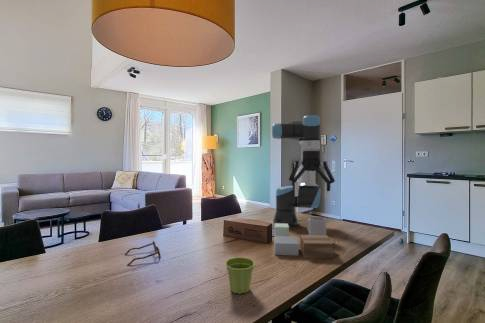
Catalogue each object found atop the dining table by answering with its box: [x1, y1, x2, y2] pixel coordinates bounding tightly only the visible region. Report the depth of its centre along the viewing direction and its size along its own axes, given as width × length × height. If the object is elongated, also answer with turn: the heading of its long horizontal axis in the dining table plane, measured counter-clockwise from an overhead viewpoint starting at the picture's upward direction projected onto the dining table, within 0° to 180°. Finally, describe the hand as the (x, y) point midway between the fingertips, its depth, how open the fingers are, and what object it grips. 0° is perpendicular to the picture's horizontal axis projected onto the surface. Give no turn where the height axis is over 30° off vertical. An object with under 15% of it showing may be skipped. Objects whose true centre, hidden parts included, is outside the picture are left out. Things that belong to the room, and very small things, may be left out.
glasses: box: [124, 240, 162, 267], centre depth 111 cm, size 13×13×5 cm
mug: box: [306, 216, 327, 235], centre depth 133 cm, size 12×8×11 cm
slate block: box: [273, 235, 300, 256], centre depth 117 cm, size 10×10×5 cm
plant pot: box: [225, 257, 256, 295], centre depth 83 cm, size 9×9×9 cm
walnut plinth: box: [299, 234, 334, 259], centre depth 115 cm, size 12×12×6 cm
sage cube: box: [273, 223, 290, 236], centre depth 134 cm, size 7×7×7 cm
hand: (311, 197), depth 118 cm, fingers open, 13 cm apart
